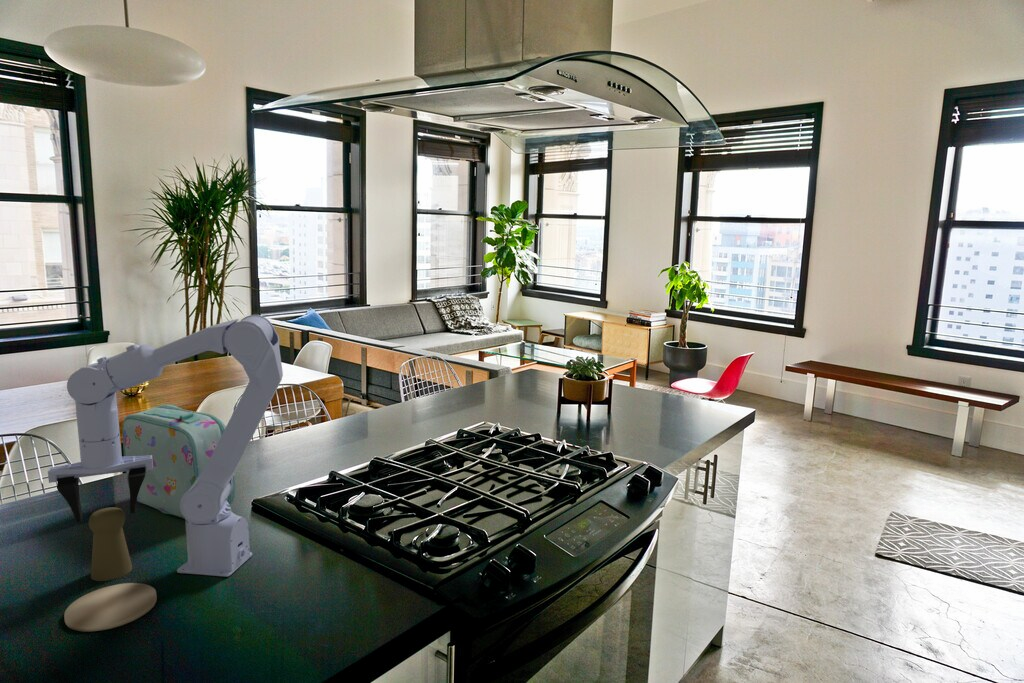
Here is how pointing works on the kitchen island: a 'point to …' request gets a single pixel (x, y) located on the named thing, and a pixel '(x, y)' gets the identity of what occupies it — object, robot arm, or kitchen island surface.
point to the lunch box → (171, 452)
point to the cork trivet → (110, 607)
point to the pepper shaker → (109, 545)
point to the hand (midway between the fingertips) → (106, 515)
